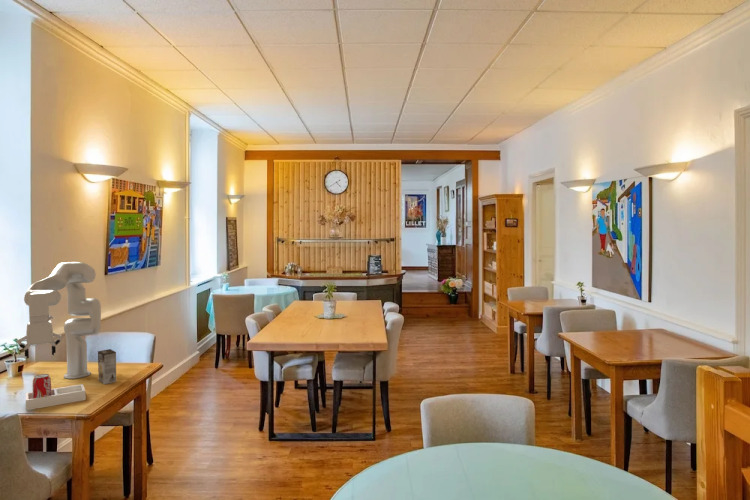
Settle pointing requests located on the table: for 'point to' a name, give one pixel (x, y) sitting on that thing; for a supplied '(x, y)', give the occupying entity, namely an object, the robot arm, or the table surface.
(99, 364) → the coffee box
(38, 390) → the soda can
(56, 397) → the divided tray
